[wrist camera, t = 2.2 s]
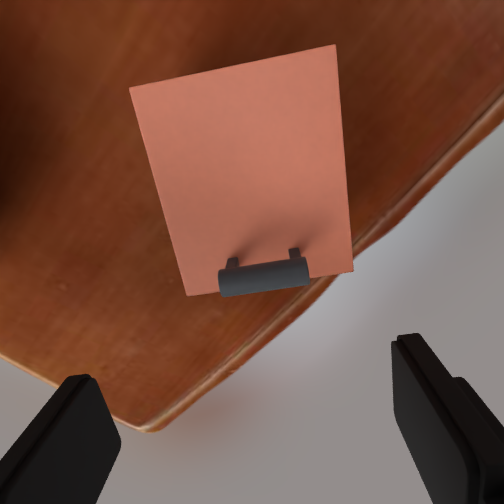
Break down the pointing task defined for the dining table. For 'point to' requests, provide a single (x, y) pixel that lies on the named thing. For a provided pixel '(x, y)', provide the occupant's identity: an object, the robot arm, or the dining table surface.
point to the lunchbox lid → (251, 172)
